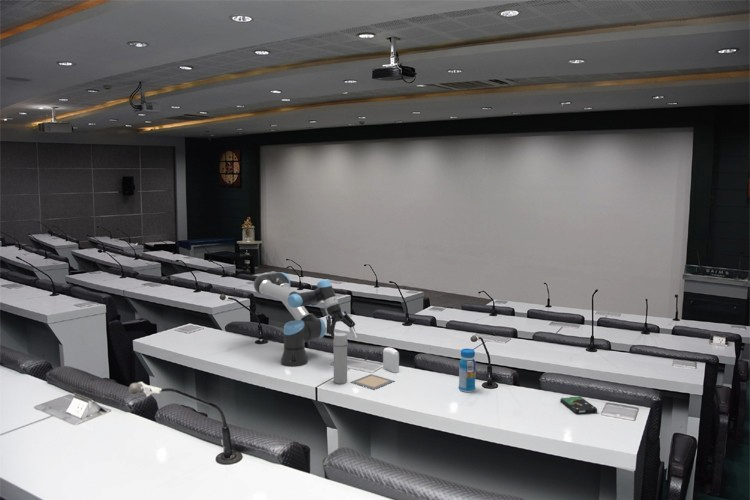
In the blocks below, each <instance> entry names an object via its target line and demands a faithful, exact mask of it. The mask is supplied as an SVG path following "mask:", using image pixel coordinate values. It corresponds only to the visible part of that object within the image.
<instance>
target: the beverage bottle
mask: <svg viewBox="0 0 750 500" xmlns="http://www.w3.org/2000/svg"><path fill="white" fill-rule="evenodd" d="M475 354H476V351H475V349H473V348H462V349H461V350H460V357H461V359H460V360H459V363H458V364H459V366H458V372H459V374H458V389H459V391H460V392H464V393H472V392H473V393H474V392H475V390H476V372H477V367H476V366H477V363H476V360H475V356H476V355H475Z"/></svg>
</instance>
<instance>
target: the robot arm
mask: <svg viewBox="0 0 750 500" xmlns="http://www.w3.org/2000/svg"><path fill="white" fill-rule="evenodd" d="M316 286H317V288H316V289H314V290H310V291H303V292H298V291H296V290H293V289H291V280H290V277H289V275H288V274H287V273H285V272H273V273H265V274H260V275H258V276H257V277H256V278H255V280H254V282H253V288H254V290H255V292H256V293H258V294H259V295H262V296H269V297H272V298H275V299H277V300H279V301H281V302H282V304H283V305H284V306H285V307H286V309H287V310H288V312H289V314H291V315H292V316H293V318H294V320H290V321H288V322H286V323H285V324H284V326H283V352H282V355H281V359H280V364H281V365H283V366H287V367H301V366H304V365H307V364H308V363H309V361H308V360H309V358H308V355H307V352H306V349H305V343H307V342H310V341H314V340H315V341H316V340H318V339H321V338H323V337H325V335H326V334H328V335H330V336H331V339H332V340H334V334H336V333H337V332H336V331H335V329H336V328H335V327H336V324H337V322H341V323H343V324H345V325H346V326H347V327H348V329H349V333H350V334H351V338H352V340H355V339H357V338H358V336H357V334H356V329H355V326H356V323H355V322H354V320H353V319H352V318H351V317H350V315H348V313H347V311H346V310H344V311H342V308H341V305H340V304H339V300H338V298H337V295H336V293H335V291H334V287H333V286H332V284H331V281H330V279H328V278H327V279H323V280H320V281H318V282H317V284H316ZM322 301H323V304H324V306H325V308H326V312H327V314H328V315H327V316H326V317H325V319H326V320H325V321H326V323H325V321H324V319H322V318H320V317H316V316H315V314H314V313H309V311H308V310H307V308H306V307H305V306H312V307H313V306H317V305H318V304H320V303H321V302H322Z"/></svg>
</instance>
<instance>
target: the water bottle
mask: <svg viewBox="0 0 750 500" xmlns="http://www.w3.org/2000/svg"><path fill="white" fill-rule="evenodd" d="M335 333H336V334H334V339H333V343H332V345H333V347H332V348H333V349H332V351H333V382H334V383H335V384H338V385H344V384H345V383H347V382H348V345H349V343H348V334H347V333H345V332H335Z"/></svg>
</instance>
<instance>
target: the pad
mask: <svg viewBox="0 0 750 500" xmlns="http://www.w3.org/2000/svg"><path fill="white" fill-rule="evenodd" d="M392 382H393V383H395V380H392V379H389V378H387V377H386V378H385V377H383V376H379V375H376V374H372V373H370V374H368V375H365V376H363V377H360V378H358V379H354V380H352V381H350V383H351V384H353V383H354V384H353V385H356V384H357V386H360V385H361V386H360V387H363V386H364V387H363V388H366V387H367V388H366V389H369V388H370V389H369V390H372V389H373V391H375V389H376V390H378V389H381V388H383V387H385V386H387V384H388V385H390V384H392ZM380 387H381V388H380Z"/></svg>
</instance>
